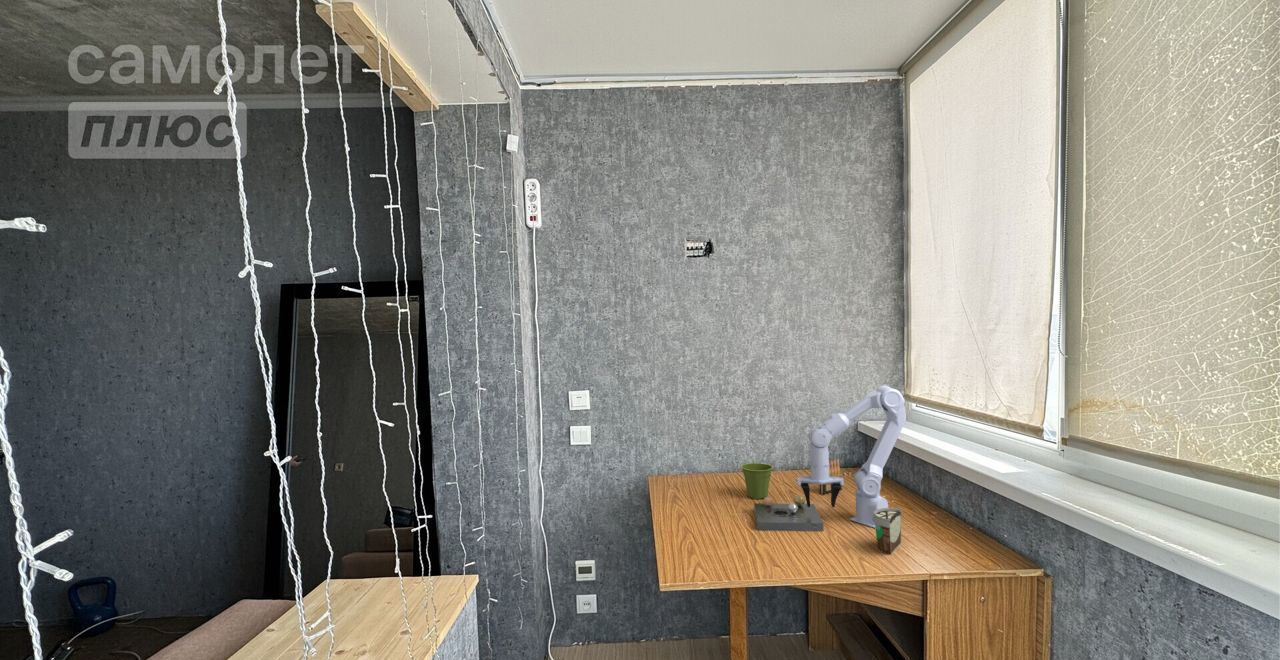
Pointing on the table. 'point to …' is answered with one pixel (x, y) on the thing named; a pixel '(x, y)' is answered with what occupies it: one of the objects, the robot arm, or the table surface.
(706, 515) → the table surface
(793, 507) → the steel ball
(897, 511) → the food container
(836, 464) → the ammunition clip
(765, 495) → the plant pot
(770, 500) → the terracotta ball
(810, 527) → the hole plate
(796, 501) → the brass ball
